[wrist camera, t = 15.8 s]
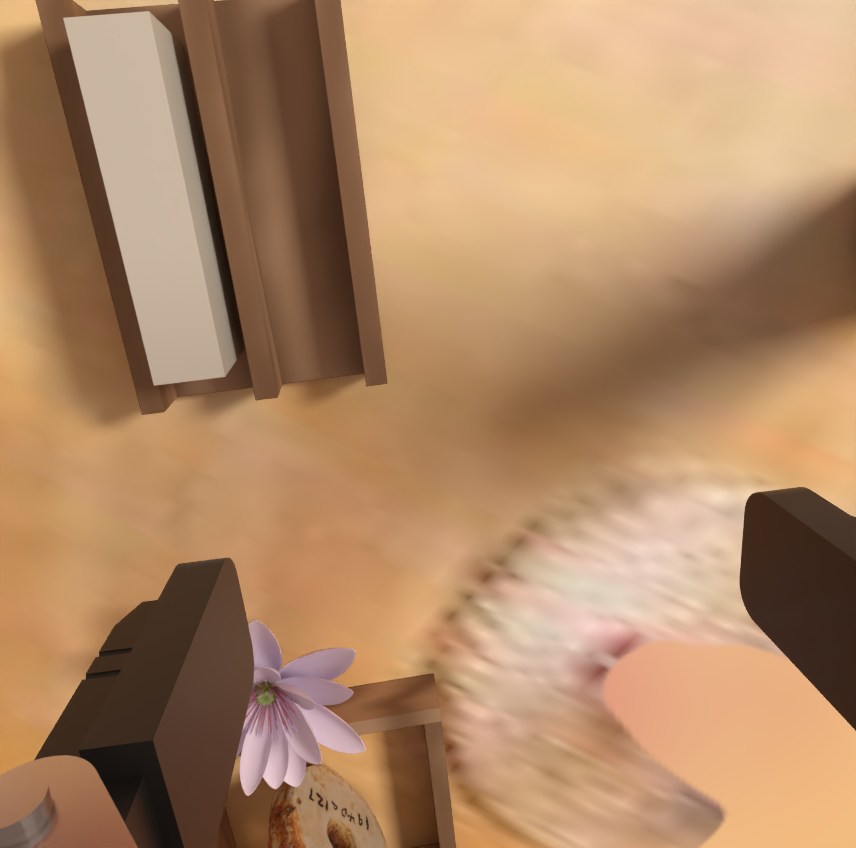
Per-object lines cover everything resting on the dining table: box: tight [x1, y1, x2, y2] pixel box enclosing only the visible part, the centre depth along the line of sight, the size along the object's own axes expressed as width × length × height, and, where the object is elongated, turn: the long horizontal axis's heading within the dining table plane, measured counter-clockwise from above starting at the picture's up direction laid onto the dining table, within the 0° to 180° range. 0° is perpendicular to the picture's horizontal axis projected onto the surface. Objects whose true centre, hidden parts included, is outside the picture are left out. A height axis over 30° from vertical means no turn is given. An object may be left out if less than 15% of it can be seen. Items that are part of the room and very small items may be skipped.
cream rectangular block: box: [63, 11, 243, 386], centre depth 33 cm, size 4×16×6 cm, turn 6°
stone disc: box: [268, 765, 388, 848], centre depth 46 cm, size 10×4×10 cm, turn 39°
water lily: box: [236, 620, 365, 796], centre depth 42 cm, size 15×15×9 cm
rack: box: [36, 0, 387, 415], centre depth 35 cm, size 14×20×4 cm
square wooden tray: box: [215, 674, 456, 848], centre depth 49 cm, size 18×18×4 cm
